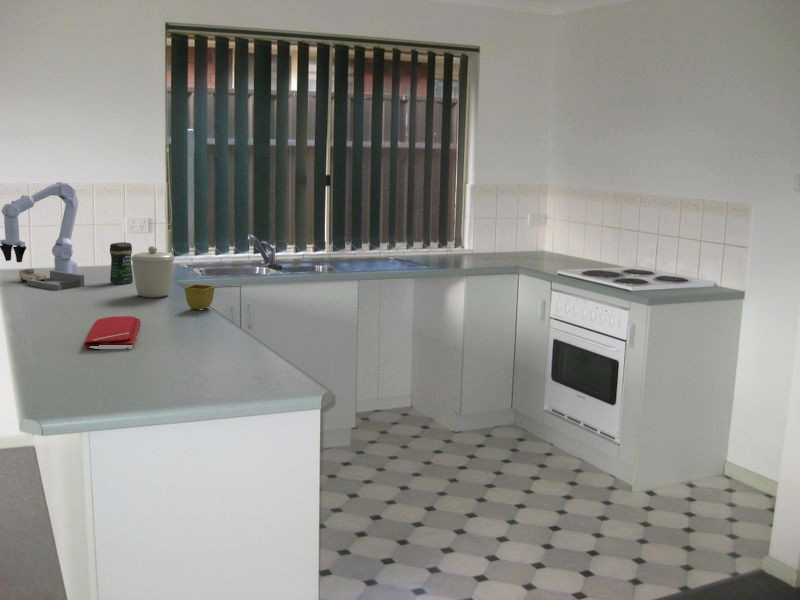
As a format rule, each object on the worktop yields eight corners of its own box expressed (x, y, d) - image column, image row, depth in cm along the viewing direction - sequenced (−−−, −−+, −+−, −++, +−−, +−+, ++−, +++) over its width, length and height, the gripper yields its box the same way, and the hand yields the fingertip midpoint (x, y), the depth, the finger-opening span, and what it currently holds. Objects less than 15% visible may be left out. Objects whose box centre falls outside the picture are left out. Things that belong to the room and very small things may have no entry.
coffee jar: (119, 285, 397) (117, 244, 393) (107, 283, 401) (106, 242, 398) (136, 282, 405) (135, 242, 401) (124, 280, 409) (123, 240, 406)
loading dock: (54, 282, 404) (53, 270, 403) (84, 287, 393) (84, 274, 392) (27, 286, 392) (26, 274, 391) (57, 291, 381) (57, 278, 380)
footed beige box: (33, 279, 406) (33, 268, 405) (46, 281, 401) (46, 270, 400) (19, 281, 399) (18, 270, 398) (32, 284, 395) (31, 272, 394)
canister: (122, 296, 371) (120, 246, 367) (152, 290, 387) (151, 242, 383) (155, 301, 363) (153, 250, 359) (185, 294, 378) (183, 245, 375)
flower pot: (215, 308, 352) (215, 285, 351) (204, 312, 344) (204, 289, 342) (195, 306, 355) (195, 284, 353) (184, 310, 346) (184, 287, 345)
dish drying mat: (141, 323, 323) (141, 313, 323) (134, 350, 284) (134, 339, 283) (96, 324, 320) (95, 314, 319) (82, 352, 281) (82, 340, 280)
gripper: (-7, 230, 393) (-5, 260, 396) (14, 233, 386) (16, 263, 388) (7, 229, 399) (9, 259, 402) (28, 231, 392) (30, 262, 394)
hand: (13, 261), depth 395 cm, fingers open, 7 cm apart
